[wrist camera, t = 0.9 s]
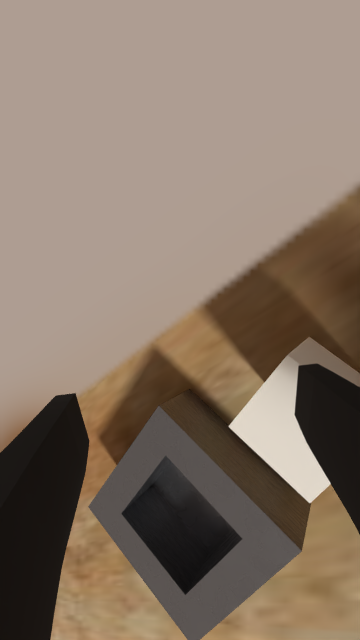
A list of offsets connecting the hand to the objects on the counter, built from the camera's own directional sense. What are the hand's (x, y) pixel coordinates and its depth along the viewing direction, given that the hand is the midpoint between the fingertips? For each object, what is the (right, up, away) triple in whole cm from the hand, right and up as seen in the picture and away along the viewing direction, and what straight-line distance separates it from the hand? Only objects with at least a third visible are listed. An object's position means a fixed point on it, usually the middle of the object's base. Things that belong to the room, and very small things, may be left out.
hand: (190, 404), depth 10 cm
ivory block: (+8, -1, +10) cm, 13 cm away
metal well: (+2, -10, +14) cm, 18 cm away
